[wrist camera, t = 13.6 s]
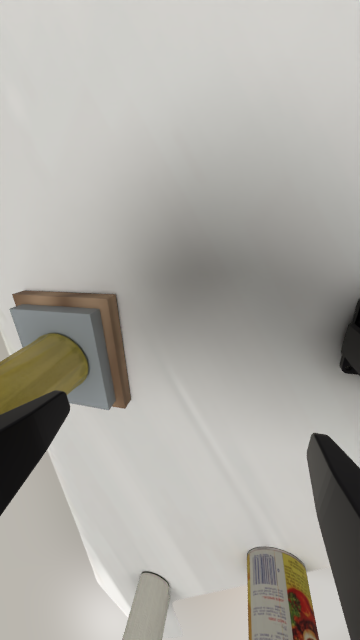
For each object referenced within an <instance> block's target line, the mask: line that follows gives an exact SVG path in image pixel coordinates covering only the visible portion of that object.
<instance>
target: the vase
mask: <svg viewBox="0 0 360 640" xmlns="http://www.w3.org/2000/svg"><path fill="white" fill-rule="evenodd" d="M87 375H88V363H87V359H86V357H85V355H84V353H83V352H82V350H81V349H80V348H79V346H78V345H77V344H76V343H74V342H73V341H72V340H70V339H69V338H67V337H65V336H63V335H60V334H55V333H50V334H45V335H42V336H40V337H39V338H38V339H36V340H35V341H33V342H32V343H30V344H29V345H27V346H25V347H24V348H22V349H20V350H19V351H17V352H15V353H14V354H12V355H11V356H9V357H7V358H6V359H4V360H3V361H1V362H0V415H1V414H3V413H5V412H8V411H10V410H12V409H14V408H16V407H19V406H21V405H23V404H25V403H27V402H30V401H32V400H34V399H36V398H39V397H41V396H43V395H45V394H47V393H50V392H52V391H54V390H59V391H64V392H65V393H66V394H67V395H68V394H69V393H70V392H71V391H72V390H74V389H75V388H76V387H77V386H79V385H80V384H82V383H83V382H84V380H85V379H86V377H87Z"/></svg>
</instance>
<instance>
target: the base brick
mask: <svg viewBox="0 0 360 640" xmlns="http://www.w3.org/2000/svg"><path fill="white" fill-rule="evenodd" d="M12 295H13V298H14V301H15V304H16V306H19V305H22V304H30V305H46V306H62V307H79V308H95V309H100V314H101V320H102V325H103V331H104V337H105V342H106V348H107V353H108V359H109V365H110V370H111V376H112V381H113V387H114V392H115V398H116V401H115V402H114V404H113V405H112V406H113V407H119V408H124V409H125V408H126V406H127V405H128V403H129V402H130V400H131V397H130V390H129V383H128V376H127V369H126V363H125V356H124V349H123V342H122V335H121V328H120V322H119V315H118V308H117V301H116V295H114V294H91V293H68V292H45V291H22V292H19V293H15V294H12Z"/></svg>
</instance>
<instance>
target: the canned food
mask: <svg viewBox="0 0 360 640" xmlns="http://www.w3.org/2000/svg"><path fill="white" fill-rule="evenodd" d="M247 577H248V625H249V640H319V637H318V632H317V627H316V621H315V616H314V611H313V606H312V600H311V595H310V590H309V584H308V580H307V574H306V569H305V566H304V565H303V563H302V562H301V561H300V560H299V559H298V558H297V557H295V556H293V555H292V554H290V553H288V552H285V551H283V550H280V549H276V548H270V547H258V548H254V549H252V550H250V551H249V553H248V554H247Z"/></svg>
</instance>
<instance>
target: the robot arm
mask: <svg viewBox="0 0 360 640" xmlns="http://www.w3.org/2000/svg"><path fill="white" fill-rule="evenodd" d="M341 353H342V354H343V356H342V359H341V363H340V368H341V370H342V371H343V372H344V373H348V374H358V375H360V300H359V301H358V304H357V307H356V311H355V314H354V318H353V321H352V323H350V324H349V325H348V329H347V332H346V336H345V339H344V343H343V346H342V350H341ZM346 366H350V367H349V368H345V367H346ZM69 411H70V405H69V401H68V397H67V394H66V393H65V392H64V391H59V390H54V391H52V392H50V393H47V394H45V395H43V396H41V397H39V398H36V399H34V400H32V401H30V402H27V403H25V404H23V405H21V406H19V407H16V408H14V409H12V410H10V411H8V412H5V413H3V414H1V415H0V516H1V514H2V513H3V512H4V510H5V509H6V507H7V506H8V504H9V503H10V502H11V500H12V499H13V497H14V496H15V495H16V493H17V492H18V490H19V489H20V487H21V486H22V485H23V483H24V482H25V480H26V479H27V478H28V476H29V475H30V473H31V472H32V470H33V469H34V468H35V466H36V465H37V463H38V462H39V461H40V459H41V458H42V456H43V455H44V453H45V452H46V450H47V449H48V447H49V446H50V444H51V442H52V441H53V439H54V437H55V436H56V434H57V432H58V431H59V429H60V427H61V425H62V424H63V422H64V420H65V419H66V417H67V415H68V414H69ZM307 461H308V467H309V473H310V478H311V484H312V490H313V496H314V502H315V507H316V512H317V517H318V521H319V525H320V529H321V533H322V537H323V540H324V544H325V547H326V551H327V555H328V558H329V562H330V566H331V569H332V573H333V577H334V580H335V584H336V587H337V591H338V595H339V599H340V602H341V606H342V609H343V613H344V617H345V620H346V624H347V628H348V631H349V635H350V638H351V640H360V468H359V467H358V466H357V465H356V464H355V463H354V462H353V461H352V460H351V459H350V458H349V457H348V456H347V454H346V453H345V452H344V451H343V450H342V449H341V448H340V447H339V446H338V445H337V444H336V443H335V442H334V441H333V440H332V439H331V438H330V437H329V436H328V435H324V434H318V433H313V434H312V435H311V438H310V442H309V446H308V449H307Z"/></svg>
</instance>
